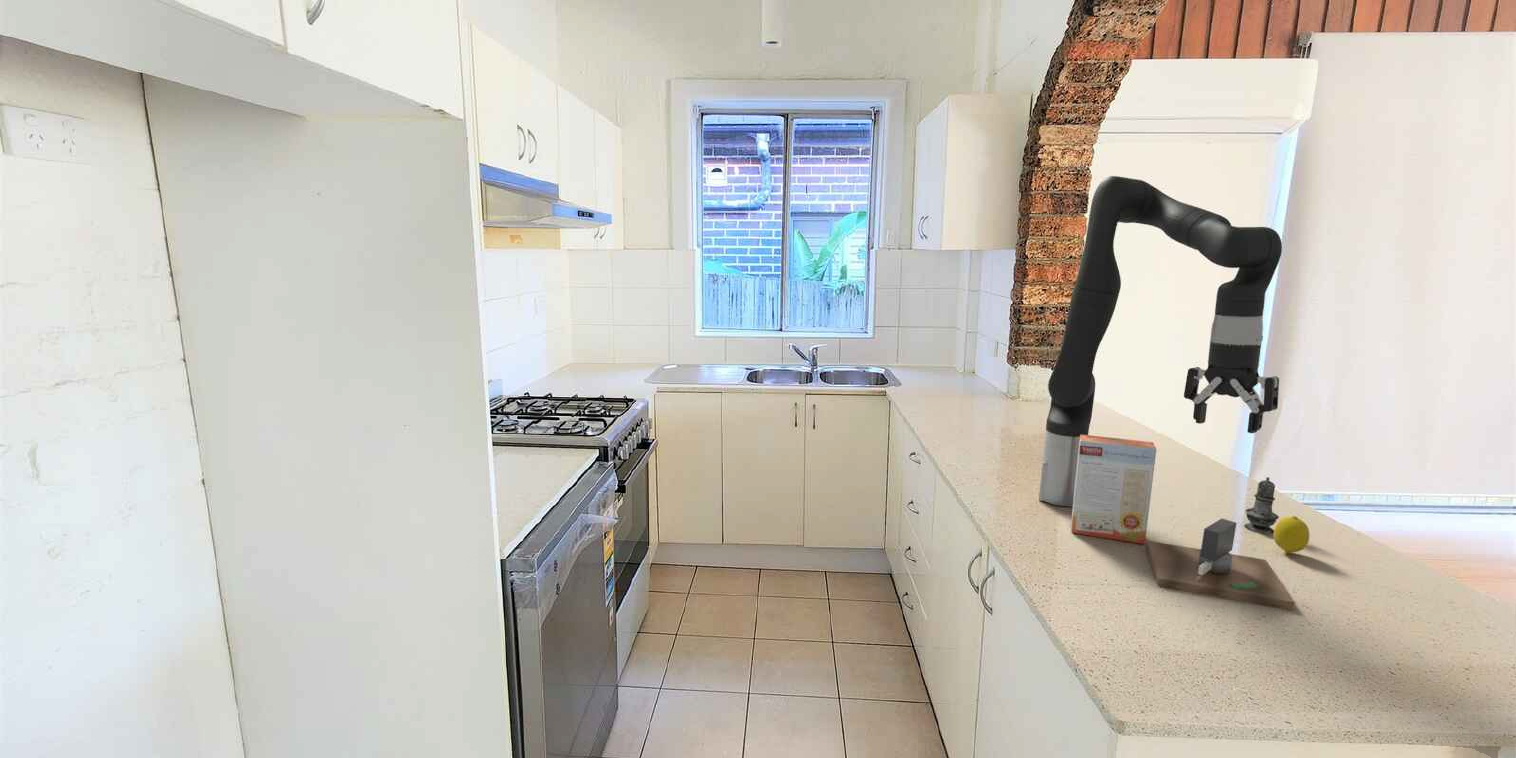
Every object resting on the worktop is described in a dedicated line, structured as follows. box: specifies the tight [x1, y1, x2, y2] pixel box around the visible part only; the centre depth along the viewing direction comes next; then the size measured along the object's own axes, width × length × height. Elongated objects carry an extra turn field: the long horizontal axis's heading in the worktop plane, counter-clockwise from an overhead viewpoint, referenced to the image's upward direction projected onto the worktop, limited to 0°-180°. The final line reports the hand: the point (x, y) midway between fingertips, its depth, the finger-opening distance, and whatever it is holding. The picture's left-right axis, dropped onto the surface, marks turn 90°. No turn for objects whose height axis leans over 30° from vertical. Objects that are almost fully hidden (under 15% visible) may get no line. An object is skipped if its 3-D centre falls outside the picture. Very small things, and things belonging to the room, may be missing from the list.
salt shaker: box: [1243, 476, 1279, 535], centre depth 144 cm, size 6×6×12 cm
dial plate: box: [1145, 540, 1295, 611], centre depth 124 cm, size 20×17×2 cm
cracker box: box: [1070, 434, 1157, 545], centre depth 140 cm, size 14×6×21 cm, turn 65°
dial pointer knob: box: [1198, 518, 1237, 575], centre depth 122 cm, size 10×5×8 cm, turn 126°
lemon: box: [1273, 515, 1310, 555], centre depth 132 cm, size 6×6×8 cm
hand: (1225, 427), depth 122 cm, fingers open, 8 cm apart
